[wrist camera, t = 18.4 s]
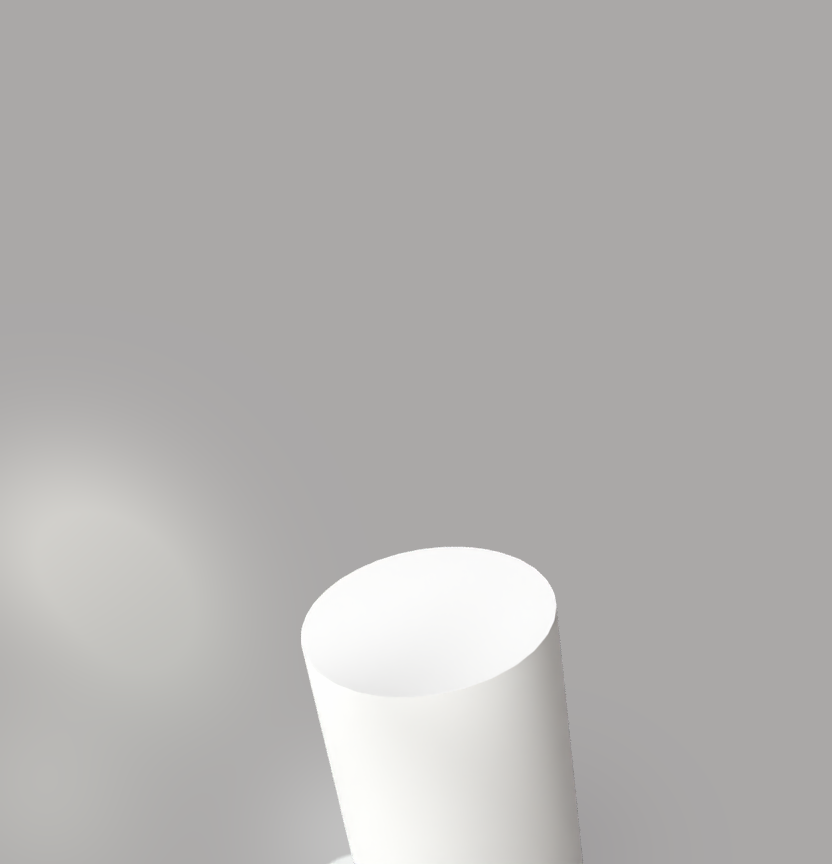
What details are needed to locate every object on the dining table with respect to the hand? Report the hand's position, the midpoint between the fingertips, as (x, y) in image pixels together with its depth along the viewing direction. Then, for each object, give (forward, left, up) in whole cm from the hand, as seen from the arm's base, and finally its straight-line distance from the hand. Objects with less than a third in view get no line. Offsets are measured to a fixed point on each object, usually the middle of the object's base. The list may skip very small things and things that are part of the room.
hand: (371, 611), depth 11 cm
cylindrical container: (-3, -9, -32) cm, 33 cm away
